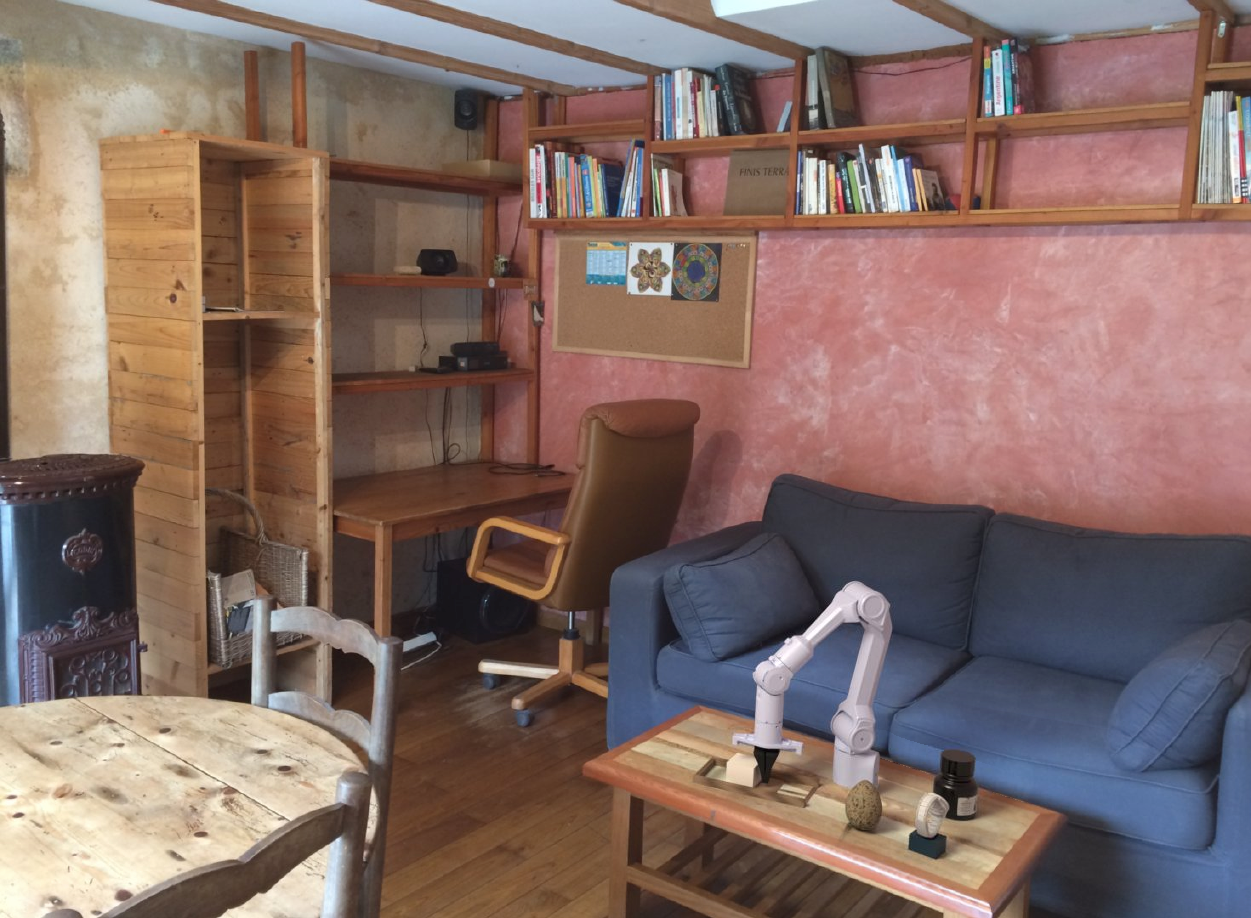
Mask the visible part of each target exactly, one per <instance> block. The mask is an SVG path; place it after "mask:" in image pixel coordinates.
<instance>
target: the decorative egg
mask: <svg viewBox="0 0 1251 918" xmlns="http://www.w3.org/2000/svg"><path fill="white" fill-rule="evenodd" d="M844 811H845V814H846V818H847V820H848V821H849V823H850V824H851V825H852V826H853V827H854V828H855V829H857V830H861V831H867V830H871V829H873V828H875V827H876V826H877V825H878V824H879V822H880V821H881V819H882V815H883V803H882V799H881V796H880V793H879V791H878V790H877V788H875V787H874V786H873V784H872V783H871V782H869V781H868V780H862V781H860V782H858V783H857V784H856V785H855V786H854V787H853V788H851V789H850V791H849V793H848V795H847V797H846V800H845V805H844Z"/></svg>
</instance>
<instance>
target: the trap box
mask: <svg viewBox="0 0 1251 918" xmlns="http://www.w3.org/2000/svg"><path fill="white" fill-rule="evenodd" d="M729 760H730V759H727V758H722V757H717V756H712V757H711V758H710V759H708V761H707V762H706V763H705V764H703V765H702V767H701V768H700V769H698V771H696V773H695V774H693V776H692V784H695V785H699V786H703V787H707V788H712V789H716V790H722V791H726V792H731V793H735V794H739V795H743V796H748V797H753V798H755V799H756V798H757V799H761V800H767V801H771V802H775V803H779V804H784V805H787V806H788V805H789V806H793V807H798V808H801V809H804V808H805V807H806V805H807V804H808V803H809V801H810V800H811V799H812V797H813V796H814V794H815V793H816V791H817V790H818V788H819V787H820V780H821V779H820V778H818V777H812V776H808V775H802V774H799V773H798V774H797V773H793V772H789V771H788V772H787V771H783V770H778V769H774V768H772V770H771V773H770V778H769V782H768V784H767V783H762V780H761V781H760V782H759V783H758V784H757V785H756V786H755V787H749V786H745V785H740V784H735V783H731V782H726V770H727V762H728V761H729ZM786 782H789V783H794V784H798V785H803V786H808V787H812V788H811V789H810V790H809V792H808V793H802V792H798V791H793V790H788V789H784V788H782V786H783V785H784V784H785V783H786ZM780 792H784V793H780ZM785 793H786V794H785ZM787 793H788V794H787ZM789 794H792V795H789ZM793 795H796V796H793ZM799 796H801V797H799ZM802 797H803V798H802Z"/></svg>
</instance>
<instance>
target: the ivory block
mask: <svg viewBox="0 0 1251 918" xmlns="http://www.w3.org/2000/svg"><path fill="white" fill-rule="evenodd" d="M728 760H729V761H728V762H727V770H726V782H731V783H735V784H740V785H745V786H749V787H755V786H756V785H757V784H758V783H759V782H760V781H761V780H762V779H761V773H760V769H759V766H758V763H757V761H756V759H755V757H754V755H749V754H744V753H740V752H737V753H735V754H734V755H733V756H732V757H731V758H730V759H728Z"/></svg>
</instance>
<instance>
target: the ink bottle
mask: <svg viewBox="0 0 1251 918" xmlns="http://www.w3.org/2000/svg"><path fill="white" fill-rule="evenodd" d="M975 769H976V756H975V755H974V754H972V753H971V752H968V751H965V750H962V749H954V748H952V749H949V748H948V749H944V750H942V751H941V753H940V760H939V773H937V774H936V775H934V778H933V784H932V793H934V794H937V795H939V796H941V797H942V798H943V799H945V800H946V802H947V803H948V805H949V810H948V811H947V814H946V817H945V818H947V819H951V820H958V821H968V820H970V819H974V817H976V816H977V813H978V812H977V811H978V802H979V801H978V799H979V783H978V780H976V778H975V777H974V776H975Z"/></svg>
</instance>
